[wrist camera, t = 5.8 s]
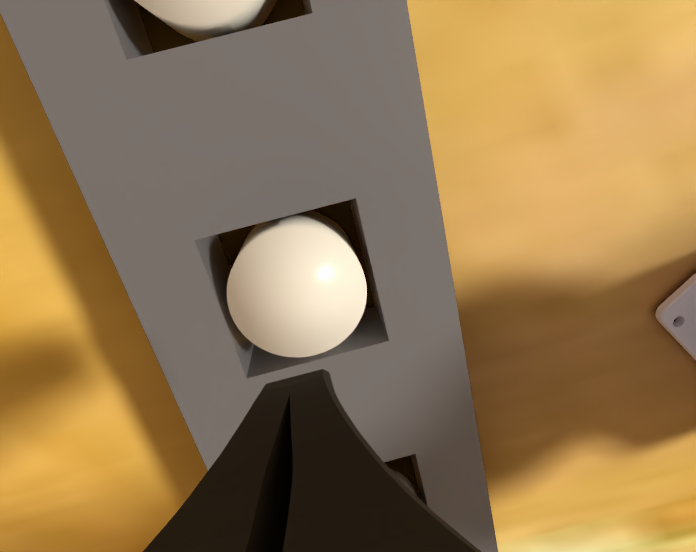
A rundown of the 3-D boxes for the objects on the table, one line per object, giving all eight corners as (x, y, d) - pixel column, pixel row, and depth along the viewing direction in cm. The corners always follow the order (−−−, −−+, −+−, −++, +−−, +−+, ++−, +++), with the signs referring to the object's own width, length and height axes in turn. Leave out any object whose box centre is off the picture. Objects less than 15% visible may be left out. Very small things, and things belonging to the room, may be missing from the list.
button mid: (340, 195, 16) (349, 211, 13) (367, 303, 17) (379, 338, 15) (222, 226, 16) (206, 248, 13) (259, 331, 17) (251, 372, 15)
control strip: (331, -271, 12) (341, -391, 9) (474, 505, 22) (499, 562, 19) (-30, -184, 12) (-132, -280, 9) (280, 558, 22) (277, 624, 19)
